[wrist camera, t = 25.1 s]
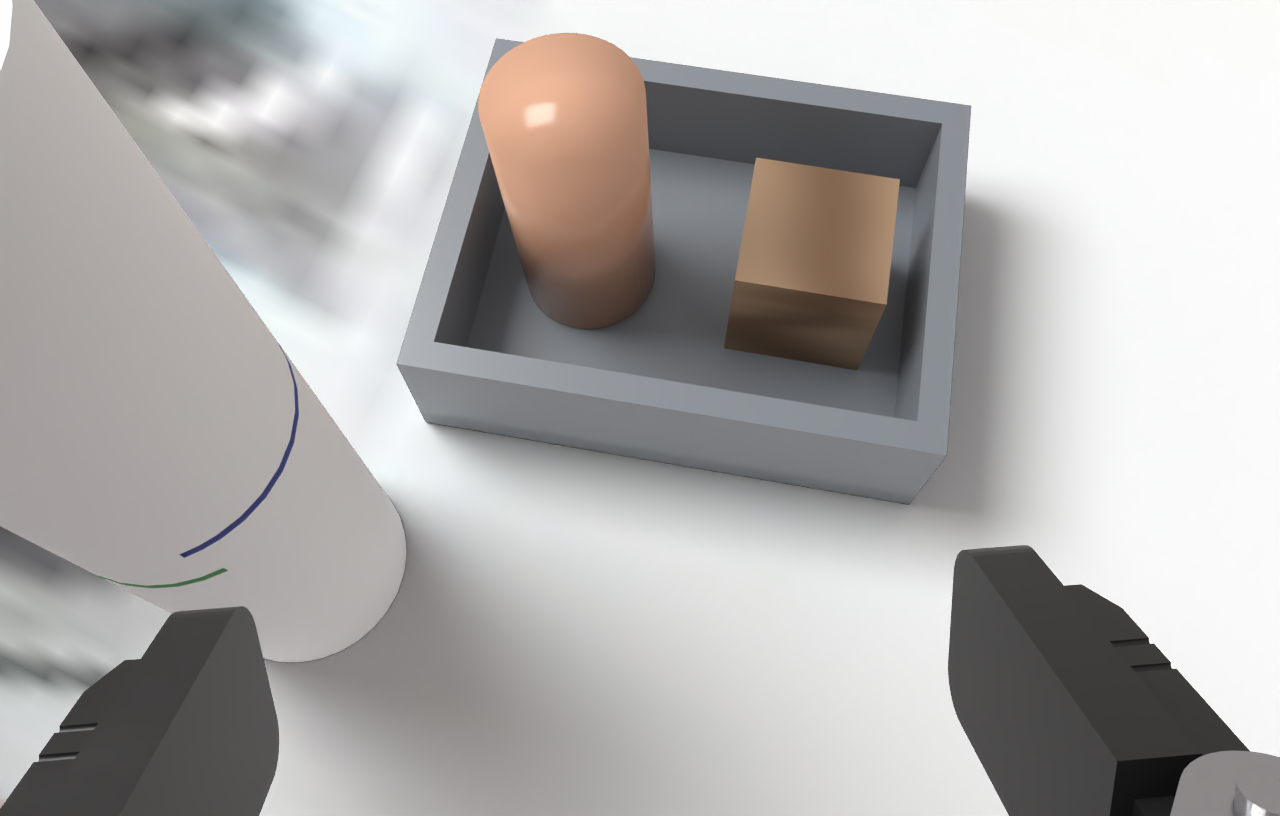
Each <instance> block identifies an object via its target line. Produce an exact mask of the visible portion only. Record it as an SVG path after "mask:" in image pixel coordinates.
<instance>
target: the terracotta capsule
mask: <svg viewBox="0 0 1280 816" xmlns="http://www.w3.org/2000/svg"><path fill="white" fill-rule="evenodd" d="M478 111H479V118H480V121H481V125H482V128H483V132H484V135H485V139H486V142H487V146H488V149H489V153H490V156H491V160H492V163H493V167H494V170H495V174H496V177H497V181H498V184H499V188H500V191H501V195H502V198H503V202H504V205H505V209H506V212H507V216H508V219H509V223H510V226H511V230H512V233H513V237H514V240H515V244H516V247H517V251H518V254H519V258H520V261H521V265H522V268H523V272H524V275H525V279H526V282H527V286H528V289H529V292H530V294H531V296H532V298H533V300H534V302H535V303H536V305H537V306H538V307H539V308H540V309H541V310H542V311H543V312H544V313H545V314H546V315H547V316H549V317H550V318H552V319H553V320H555V321H557V322H559V323H561V324H564V325H567V326H570V327H575V328H581V329H595V328H602V327H607V326H610V325H613V324H616V323H618V322H620V321H623V320H624V319H626V318H628V317H629V316H631V315H632V314H633V313H634V312H636V311H637V310H638V309H639V308H640V307H641V306H642V305H643V303H644V302H645V301H646V299H647V298H648V296H649V294H650V292H651V290H652V287H653V285H654V280H655V273H656V267H655V249H654V231H653V213H652V195H651V177H650V159H649V141H648V123H647V105H646V90H645V84H644V80H643V78H642V75H641V73H640V71H639V69H638V67H637V66H636V64H635V63H634V62H633V61H632V59H631V58H630V57H629V56H628V55H627V54H626V53H625V52H623V51H622V50H621V49H619V48H618V47H616V46H615V45H613V44H611V43H609V42H607V41H605V40H602V39H600V38H597V37H593V36H589V35H585V34H577V33H558V34H550V35H545V36H541V37H537V38H534V39H531V40H529V41H526V42H524V43H522V44H520V45H518V46H516V47H514V48H513V49H512V50H510V51H509V52H507V53H506V54H505V55H503V56H502V57H501V58H500V59H499V60H498V61H497V62H496V63H495V64H494V65H493V66H492V68H491V69H490V71H489V72H488V74H487V75H486V77H485V79H484V81H483V83H482V86H481V89H480V93H479V99H478Z"/></svg>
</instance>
